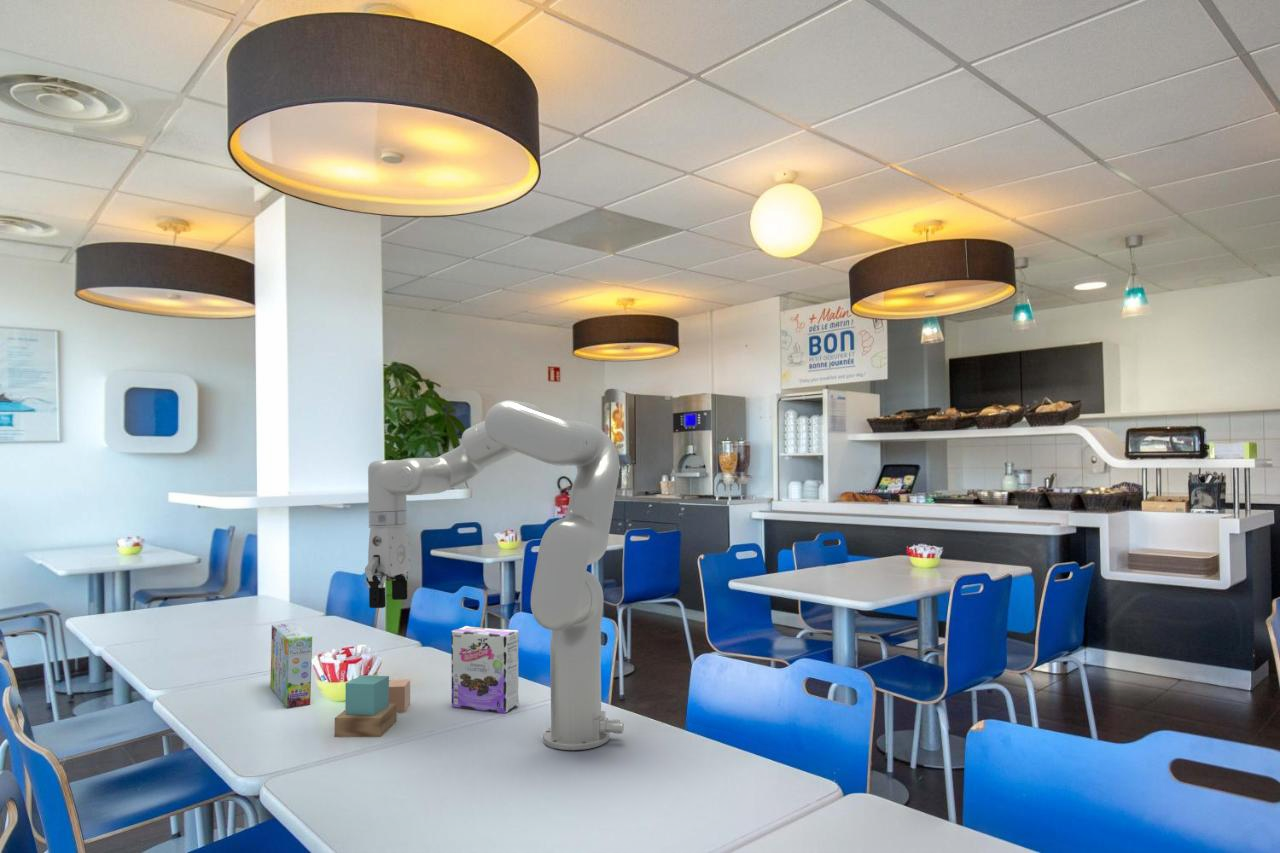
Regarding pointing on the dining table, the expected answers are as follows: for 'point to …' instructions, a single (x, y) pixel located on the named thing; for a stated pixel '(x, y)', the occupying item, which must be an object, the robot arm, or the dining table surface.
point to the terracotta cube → (399, 694)
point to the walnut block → (365, 723)
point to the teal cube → (367, 695)
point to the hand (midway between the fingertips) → (388, 603)
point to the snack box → (291, 664)
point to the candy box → (485, 669)
